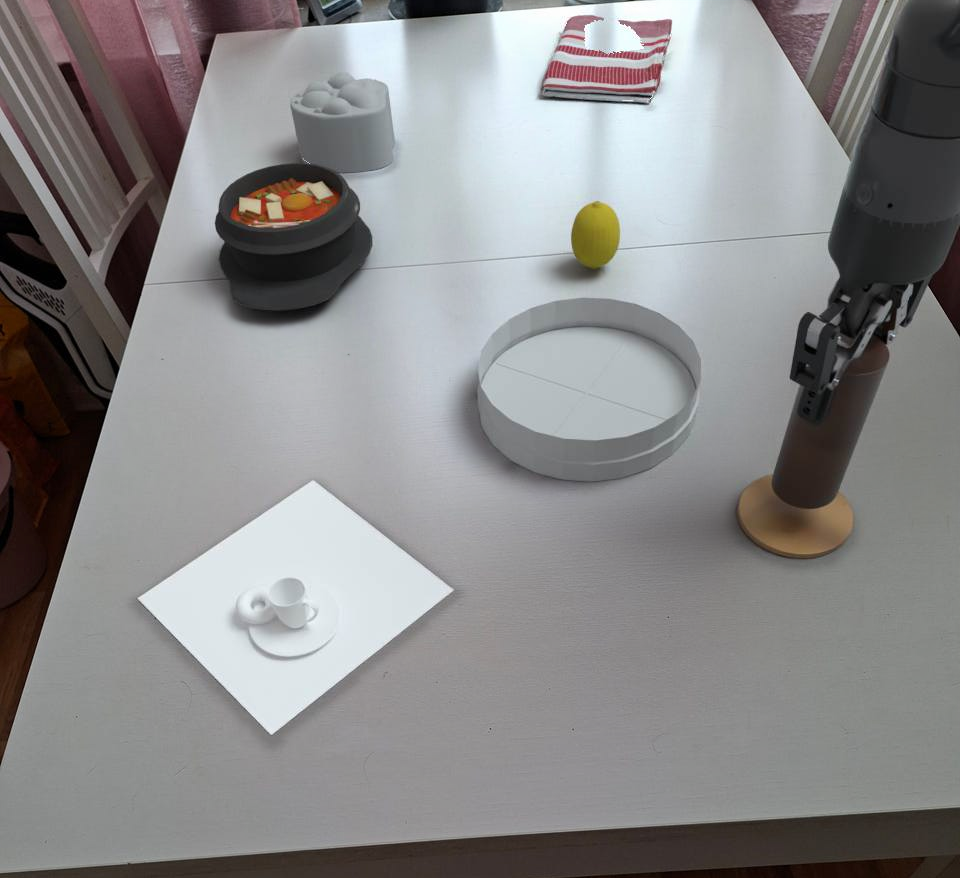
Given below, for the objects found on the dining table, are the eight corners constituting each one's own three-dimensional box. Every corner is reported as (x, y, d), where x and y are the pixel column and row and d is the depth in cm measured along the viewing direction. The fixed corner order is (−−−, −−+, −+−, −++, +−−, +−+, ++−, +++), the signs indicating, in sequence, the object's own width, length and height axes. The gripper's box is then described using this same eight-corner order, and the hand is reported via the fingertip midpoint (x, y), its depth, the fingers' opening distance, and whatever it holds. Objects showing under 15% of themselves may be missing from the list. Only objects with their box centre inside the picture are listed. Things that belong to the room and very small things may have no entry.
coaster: (782, 461, 84) (783, 456, 84) (874, 516, 80) (876, 511, 79) (714, 516, 81) (715, 512, 80) (806, 576, 76) (808, 572, 76)
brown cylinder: (797, 454, 80) (840, 318, 68) (850, 485, 77) (905, 349, 66) (758, 486, 78) (795, 351, 66) (811, 519, 75) (860, 385, 64)
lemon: (566, 280, 103) (568, 213, 97) (574, 253, 106) (577, 187, 100) (613, 284, 102) (618, 217, 96) (620, 257, 105) (626, 190, 99)
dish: (730, 373, 92) (739, 332, 88) (640, 511, 82) (645, 472, 78) (541, 316, 99) (541, 275, 95) (437, 436, 89) (432, 396, 85)
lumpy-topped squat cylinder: (391, 170, 120) (382, 101, 113) (296, 175, 120) (281, 107, 113) (396, 132, 126) (387, 65, 119) (305, 137, 126) (292, 70, 119)
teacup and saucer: (226, 618, 77) (212, 588, 74) (299, 566, 80) (288, 536, 77) (287, 676, 73) (275, 648, 70) (361, 619, 76) (353, 590, 73)
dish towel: (672, 35, 139) (674, 15, 137) (654, 105, 126) (656, 85, 124) (566, 31, 142) (566, 12, 140) (538, 99, 129) (538, 79, 127)
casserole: (363, 322, 101) (351, 254, 94) (203, 327, 102) (179, 259, 95) (384, 204, 115) (374, 137, 108) (243, 209, 116) (225, 143, 109)
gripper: (894, 257, 51) (819, 469, 65) (1023, 162, 57) (928, 378, 70) (787, 210, 55) (737, 421, 69) (918, 125, 60) (847, 338, 74)
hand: (834, 399), depth 69 cm, fingers closed on brown cylinder, 5 cm apart
